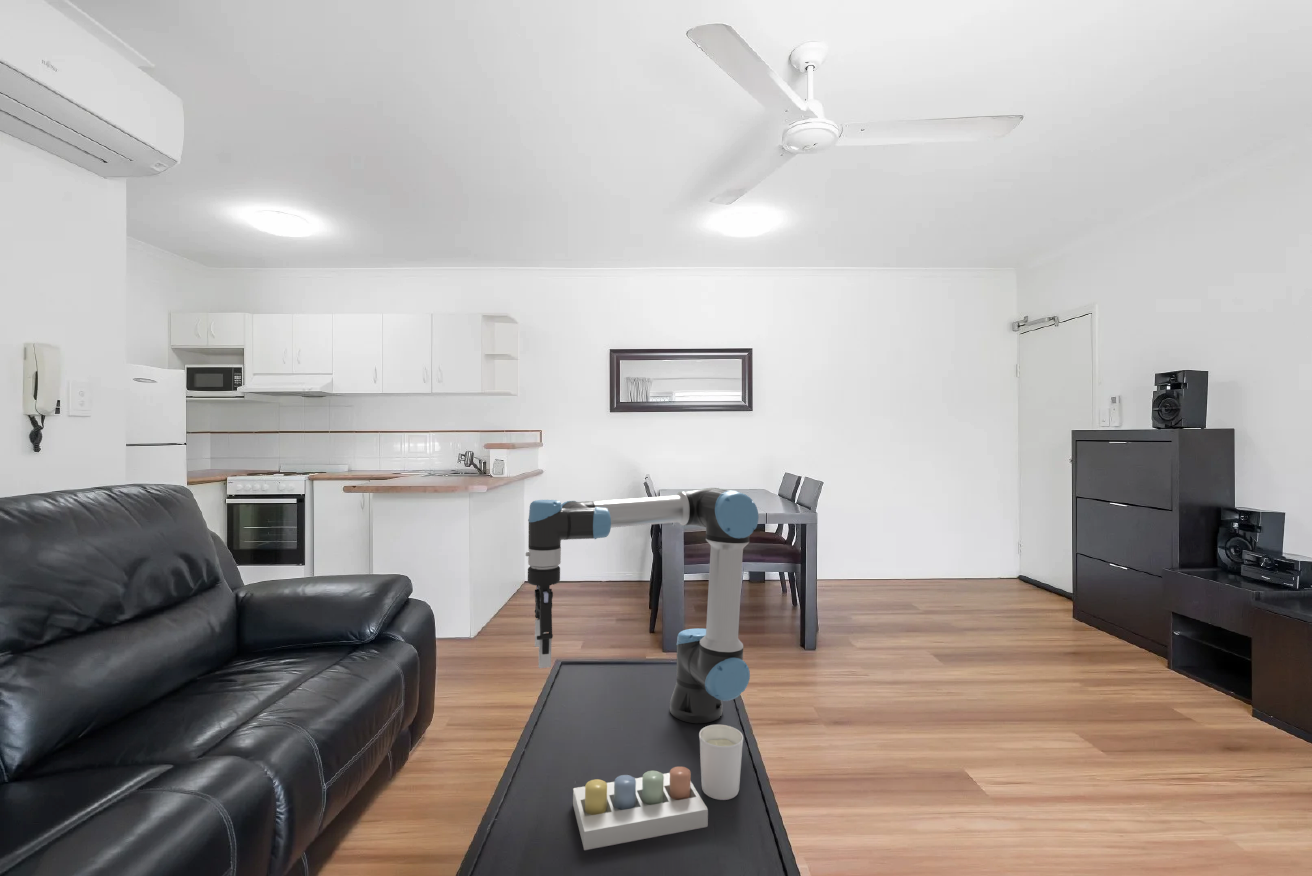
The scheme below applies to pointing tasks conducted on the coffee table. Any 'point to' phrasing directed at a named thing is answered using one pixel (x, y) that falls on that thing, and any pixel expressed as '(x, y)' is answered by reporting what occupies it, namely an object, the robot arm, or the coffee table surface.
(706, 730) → the candle holder
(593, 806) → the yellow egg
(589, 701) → the coffee table surface
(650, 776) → the pale green rounded piece
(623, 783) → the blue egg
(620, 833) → the white slotted tray
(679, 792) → the orange rounded piece
